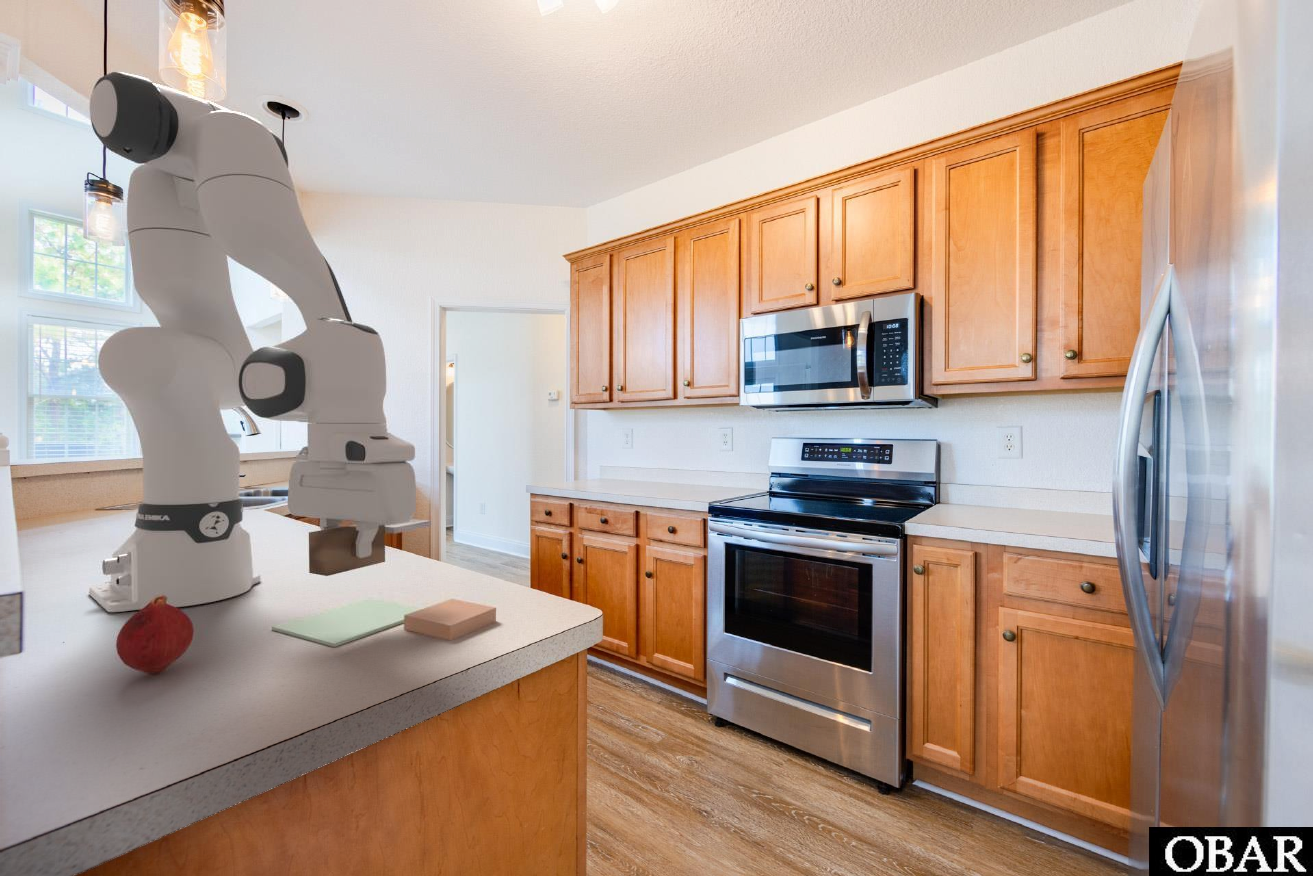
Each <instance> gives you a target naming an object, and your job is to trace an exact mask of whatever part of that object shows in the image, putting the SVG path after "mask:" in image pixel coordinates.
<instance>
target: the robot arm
mask: <svg viewBox="0 0 1313 876" xmlns="http://www.w3.org/2000/svg"><path fill="white" fill-rule="evenodd" d="M89 114H90V122H91V127H92V130H93V132H94V134H95V136H96V137H97V138H98V139H99V140H100V142H101V143H102V145H103V146H104V147H105V148H106V149H108V151H111V152H113V153H115V154H116V155H118V156H119V157H123V158H124V159H127V160H129V161H131V162H133V163H135V164H139V165H138V166H137V167H135V169H134V170H133V171H132V172H131V174H130V177H129V182H128V189H127V199H126V200H127V201H126V222H127V223H126V225H127V236H128V245H129V251H130V259H131V267H132V277H133V285H134V288H135V290H136V293H137V295H138V296H139V298H140V299H141V300H142V301H143V303H144V304H146V306H148V308H149V309H150V310H151V312H152V314H153V315H154V317H155V319H156V320H157V322H158V324H159V326H133V327H127V328H124V329H121V330H119V331H116V332H115V333H113V334H112V335H110V336H109V337H108V338H107V339H106V340H105V342H103V344H102V346H101V348H100V351H99V354H98V358H97V359H98V360H97V365H98V371H99V373H100V376H101V378H102V380H103V381H104V383H105V384H106V385H107V386H108V387H109V388H110V389H111V390H112V391H114V393H115V394H117V395H118V397H120V399H121V400H122V402H123V403H124V404H125V406H126V408H127V410H128V411H129V414H130V416H131V418H132V421H133V424H134V427H135V429H136V432H137V435H138V439H139V441H140V446H141V447H140V448H141V456H142V492H143V493H142V502H140V504H139V506H138V507H137V508H138V509H137V512H136V514H135V523H134V527H135V528H136V529H135V530H134V532H133V533H132V534H131V535H130V536H129V537H127V539H126V540H125V541H124V542H123V543H122V544H121V545H120V546H119V547H118V548H117V550H114V552H113V553H112V556H111V557H110V558H104V559H103V561H102V565H101V567H102V568H101V569H102V570H101V571H102V574H103V575H104V576H108V575H109V576H110V581H107V582H102V583H99V584H95V585H92V586H90V587H89V590H88V595H89V596H91V597H92V598H93V599H94V601H96V602H97V603H98V604H99V605H100V606H101V607H102V608H103V609H104V610H106V612H108V613H118V612H119V613H120V612H128V611H137V610H138V611H139V610H141V609H143V608H144V607H145V606H147V605H148V604H149V603H150V601H151V600H152V599H153V598H155V597H156V596H158V595H164V596H166V597H167V600H166V604H169V605H171V606H174V607H176V608H181V607H189V606H196V605H201V604H208V603H212V602H216V601H221V600H226V599H229V598H232V597H237V596H239V595H241V594H244V593H245V592H247V591H249V590H251V588H252V586H253V585H255V584H258V583H260V582H261V581H262V579H261V574H259V573H254V568H253V559H252V558H253V557H252V556H253V555H252V544H251V543H252V542H251V534H250V533H249V531H247V530H246V529H245V528H244V527H242V525H241V523H240V522H243V513H244V506H243V499H242V498H240V465H241V464H240V462H241V461H240V459H241V458H240V456H241V455H240V450H239V446H238V444H237V443H236V442H235V441H234V440H233V439H232V438H231V436H230V435H229V433H228V431H227V428H226V426H225V423H224V420H223V417H222V412H221V411H225V410H226V411H227V410H231V409H237V408H240V407H244V406H246V407H247V408H248V410H249V411H250V412H252V413H253V414H254V415H255V416H257V417H259V418H264V419H267V420H271V421H278V422H279V421H280V422H282V421H283V422H299V423H307V426H306V427H307V446H303V447H302V448H301V450H300V451H299V452H298V454H296V456H295V462H294V463H293V464H292V466H291V468H290V471H289V481H288V489H287V508H288V510H289V513H290V514H291V515H292V516H296V517H306V518H315V519H319V528H320V530H326V529H332V528H338V527H340V525H342V524H343V523H342V521H345V522H354V523H355V525H356V530H357V531H359V534H358V537H357V540H356V543H351V549H352V552H351V555H352V556H353V557H358V558H363V557H368V556H370V555H371V553H372V541H373V539H374V537H375V535H376V533H377V531H378V524H381V525H395V524H401V523H406V522H409V521H410V520H411V519H413V517H414V516H415V514H416V513H415V512H416V508H417V507H416V506H417V505H416V504H417V488H416V487H417V486H416V484H417V483H416V475H415V470H414V467H413V466H412V464H411V463H410V462H412V461H414V460H415V457H416V448H415V445H413V444H412V443H411V442H409V441H407V440H404V439H402V438H399V437H397V436H396V435H394V434H392V433H391V432H387V418H386V416H385V412H384V400H385V397H386V394H387V367H386V366H387V364H386V355H385V348H384V343H383V341H382V339H381V335H380V334H379V332H378V331H377V330H375V329H374V328H372V327H370V326H368V325H365V324H361V323H357V322H354V321H353V319H352V317H351V314H350V311H349V309H348V306H347V303H346V300H345V298H344V296H343V293H342V290H341V287H340V284H339V281H338V280H337V278H336V275H335V273H334V271H333V269H332V267H331V264H329V262H328V260H327V259H326V258H325V256H324V255H323V253H322V252H321V250H320V249H319V247H318V245H317V243H316V241H315V240H314V239H313V237H312V234H311V232H310V230H309V228H308V226H307V223H306V222H305V219H304V216H303V214H302V211H301V209H300V204H299V201H298V196H297V192H296V190H295V185H294V183H293V180H292V176H291V173H290V171H289V158H288V152H287V150H286V147H285V145H284V143H283V141H282V139H280V137H278V136H277V135H276V134H275V133H274V132H273V131H271V130H270V129H268V128H267V127H266V126H265V125H264V124H263V123H261V122H260V121H258V119H255V118H254V117H251V116H249V115H247V114H244V113H241V112H238V111H231V110H229V109H227V108H225V107H223V106H221V105H218V104H217V103H214V102H213V101H212V102H211V101H209V100H207V99H205V98H204V99H203V98H198V97H196V96H193V95H190V94H189V93H185V92H182V91H179V90H177V89H174V88H170V87H167V86H163V85H160V84H156V83H153V82H152V81H151V80H150V79H148V78H146V77H143V76H139V75H135V74H130V73H126V72H120V71H112V72H109V73H107V74H105V75H103V76H102V77H99V78H98V80H97V81H96V82H95V84H94V87H93V90H92V93H91V95H90V98H89ZM228 257H229V258H231V260H233V261H234V262H236V263H238V264H239V265H242V266H243V267H245V268H246V269H249V270H250V271H252V272H253V273H255V274H257V275H259V276H260V277H262V278H264V279H265V280H266V281H268V282H270V283H271V284H272V285H274V286H275V287H277V288H278V289H279V290H281V291H282V293H285V295H287V297H288V298H289V299H291V300H292V301H293V303H294V304H295V306H296V307H297V308H298V310H299V312H300V314H301V316H302V318H303V321H304V324H305V328H306V329H305V330H304V331H303V332H302V333H300V334H298V335H297V336H295V337H292V338H291V339H289V340H286V341H284V342H281V343H278V344H275V345H273V346H263V347H260V348H258V349H256V350H254V348H253V347H252V345H251V341H250V339H249V337H248V334H247V332H246V330H245V327H244V325H243V322H242V320H241V317H240V314H239V311H238V309H237V305H236V302H235V299H234V295H233V290H232V284H231V276H230V271H229V263H228Z"/></svg>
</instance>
